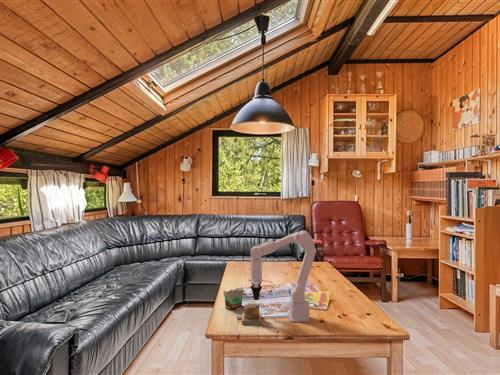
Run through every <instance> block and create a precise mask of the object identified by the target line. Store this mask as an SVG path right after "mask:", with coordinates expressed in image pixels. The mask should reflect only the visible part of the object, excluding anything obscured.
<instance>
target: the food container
mask: <svg viewBox="0 0 500 375" xmlns="http://www.w3.org/2000/svg"><path fill="white" fill-rule="evenodd" d="M244 291H245V290H244V288H243V287H242V286H241V287H240V288H238V289H231V290H228V291H226V290H224V291H223V296H224V303H225V304H224V306H225V310H228V311H237V310H236V309H238V308H240V307H241V308H242V304H243V295H244V293H245V292H244ZM238 310H239V309H238Z"/></svg>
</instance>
